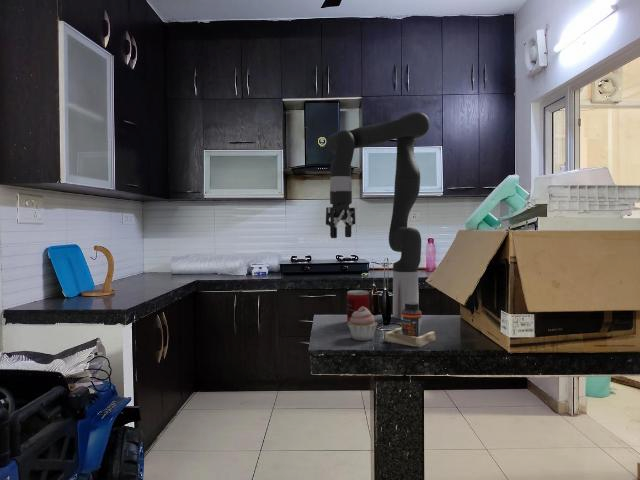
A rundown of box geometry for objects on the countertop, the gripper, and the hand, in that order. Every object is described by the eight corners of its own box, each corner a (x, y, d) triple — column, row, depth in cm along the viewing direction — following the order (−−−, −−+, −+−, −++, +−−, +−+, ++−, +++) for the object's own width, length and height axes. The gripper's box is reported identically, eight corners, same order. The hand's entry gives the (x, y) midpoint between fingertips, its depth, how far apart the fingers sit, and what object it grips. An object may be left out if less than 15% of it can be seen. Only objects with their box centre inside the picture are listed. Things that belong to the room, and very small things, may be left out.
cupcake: (342, 340, 151) (342, 307, 151) (353, 334, 160) (353, 302, 159) (372, 343, 148) (372, 309, 147) (381, 336, 156) (381, 304, 156)
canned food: (372, 321, 179) (372, 290, 178) (363, 325, 172) (362, 293, 171) (353, 319, 183) (353, 289, 182) (343, 323, 176) (343, 292, 175)
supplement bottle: (399, 341, 150) (399, 303, 149) (403, 337, 155) (403, 300, 155) (419, 343, 148) (419, 305, 147) (422, 338, 153) (423, 301, 153)
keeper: (401, 334, 158) (401, 327, 158) (435, 340, 151) (435, 331, 151) (385, 341, 150) (385, 332, 150) (419, 347, 143) (419, 338, 143)
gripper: (343, 191, 180) (344, 236, 181) (319, 190, 169) (319, 238, 170) (361, 190, 176) (361, 237, 176) (337, 189, 164) (337, 238, 165)
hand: (341, 237), depth 173 cm, fingers open, 8 cm apart
